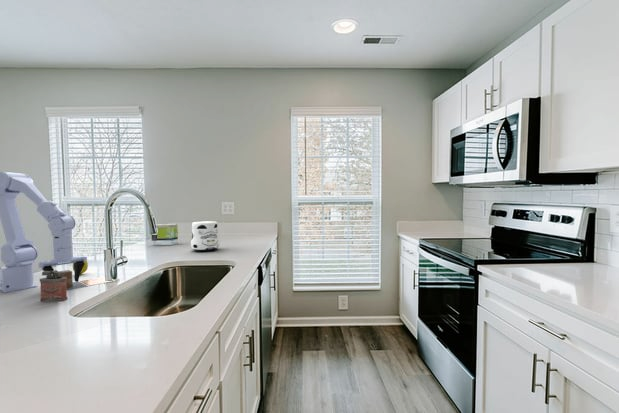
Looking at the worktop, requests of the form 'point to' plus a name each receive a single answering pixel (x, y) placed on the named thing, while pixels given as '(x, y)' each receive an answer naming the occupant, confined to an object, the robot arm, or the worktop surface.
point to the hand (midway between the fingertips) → (64, 283)
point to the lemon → (83, 267)
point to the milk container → (204, 236)
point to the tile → (95, 281)
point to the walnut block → (68, 278)
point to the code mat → (76, 286)
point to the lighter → (53, 287)
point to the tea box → (166, 235)
